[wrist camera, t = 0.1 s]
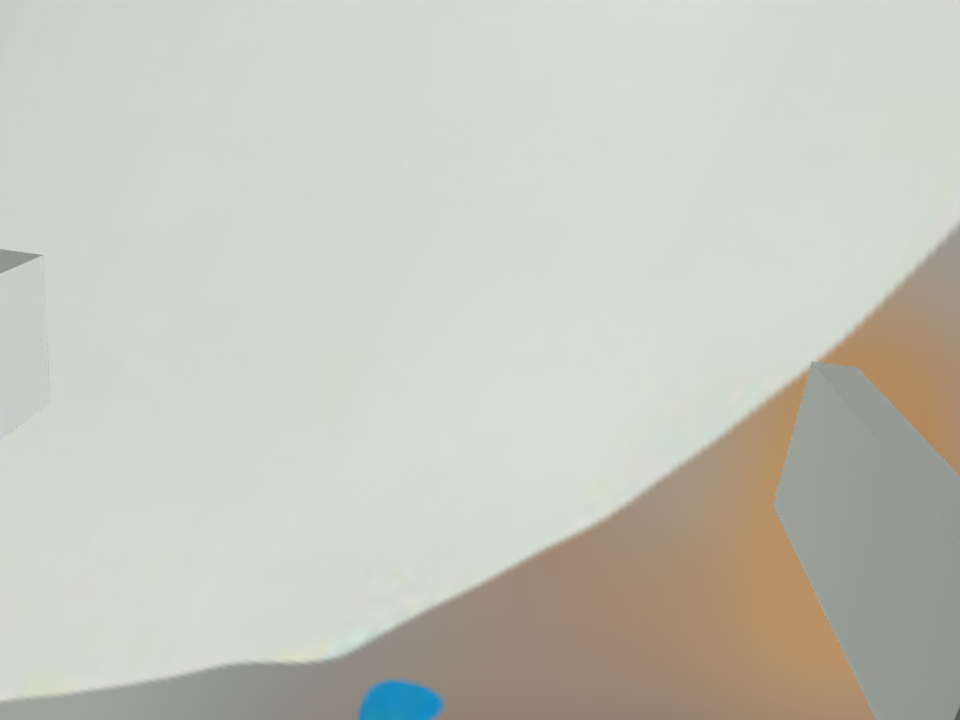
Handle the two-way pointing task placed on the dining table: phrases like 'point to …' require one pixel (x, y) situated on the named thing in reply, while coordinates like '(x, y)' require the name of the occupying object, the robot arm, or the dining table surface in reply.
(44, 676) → the dining table surface
